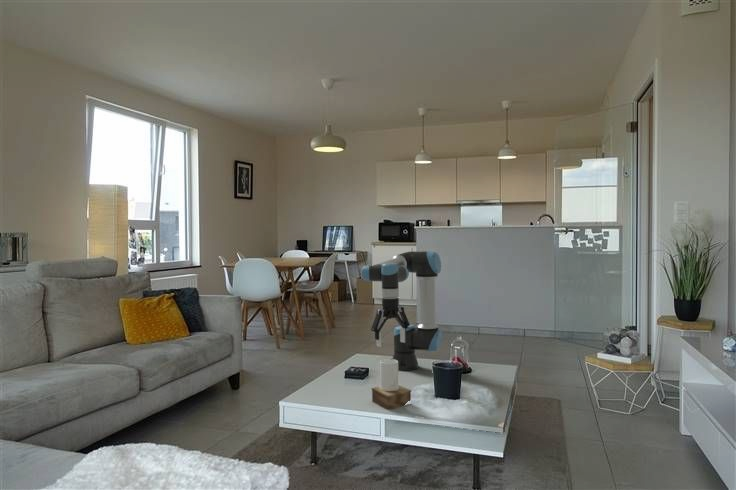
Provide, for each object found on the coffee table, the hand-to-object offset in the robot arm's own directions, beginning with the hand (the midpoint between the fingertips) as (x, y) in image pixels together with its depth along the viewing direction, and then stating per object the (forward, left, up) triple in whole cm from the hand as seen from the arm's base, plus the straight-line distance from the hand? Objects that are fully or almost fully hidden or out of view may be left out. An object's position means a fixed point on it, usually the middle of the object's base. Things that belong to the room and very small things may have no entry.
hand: (391, 344), depth 218 cm
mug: (+5, +6, -18) cm, 20 cm away
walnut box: (+5, +6, -24) cm, 25 cm away
